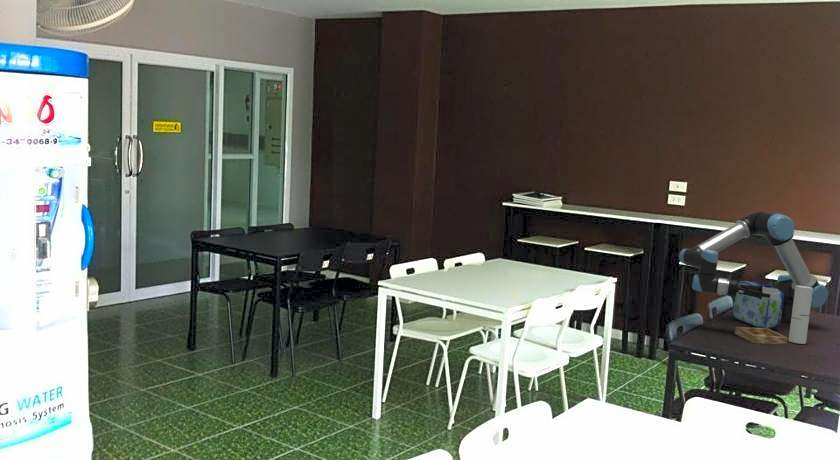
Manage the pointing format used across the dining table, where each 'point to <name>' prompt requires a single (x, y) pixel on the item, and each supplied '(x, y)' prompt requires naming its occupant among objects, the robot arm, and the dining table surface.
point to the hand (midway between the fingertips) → (778, 294)
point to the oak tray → (761, 335)
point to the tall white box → (800, 314)
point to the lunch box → (758, 308)
